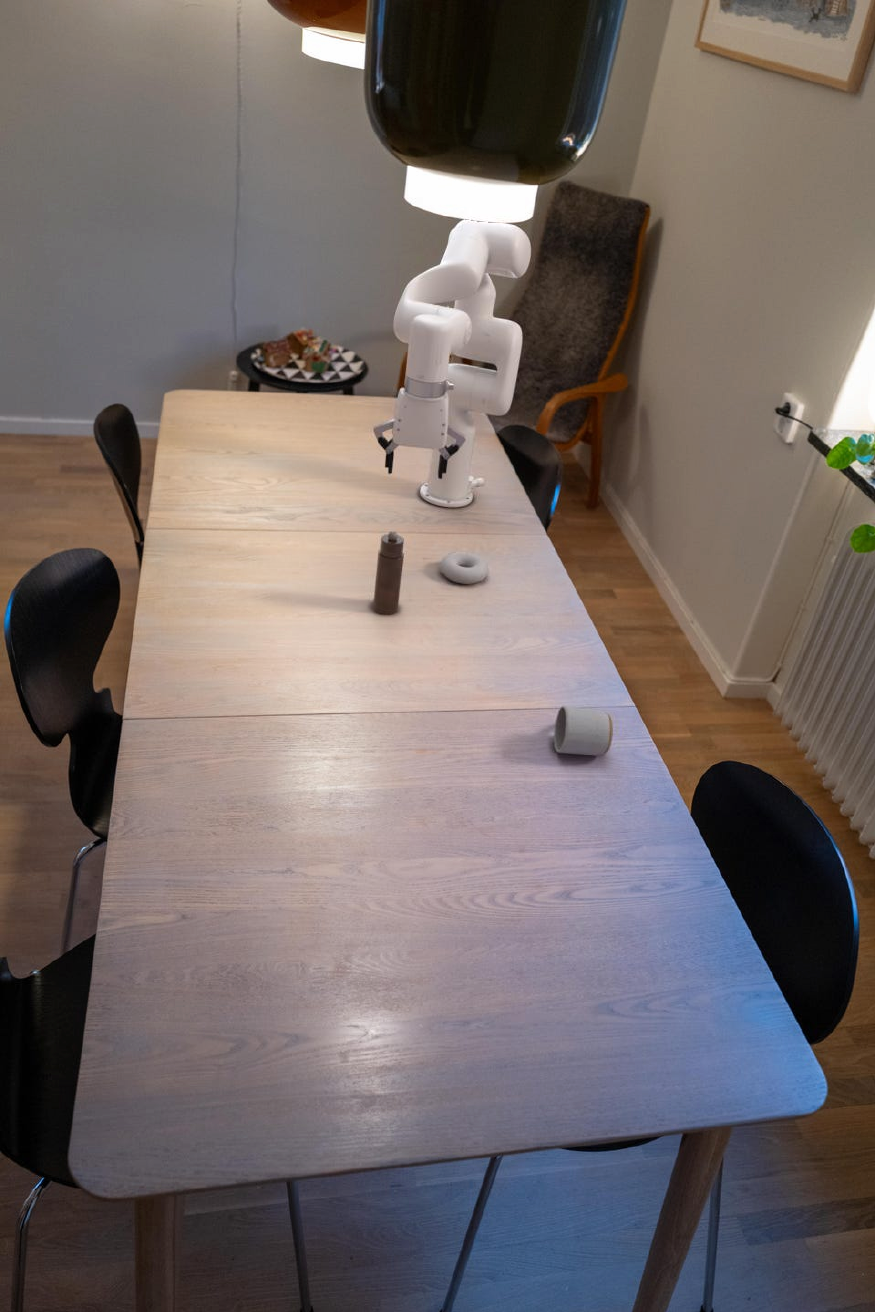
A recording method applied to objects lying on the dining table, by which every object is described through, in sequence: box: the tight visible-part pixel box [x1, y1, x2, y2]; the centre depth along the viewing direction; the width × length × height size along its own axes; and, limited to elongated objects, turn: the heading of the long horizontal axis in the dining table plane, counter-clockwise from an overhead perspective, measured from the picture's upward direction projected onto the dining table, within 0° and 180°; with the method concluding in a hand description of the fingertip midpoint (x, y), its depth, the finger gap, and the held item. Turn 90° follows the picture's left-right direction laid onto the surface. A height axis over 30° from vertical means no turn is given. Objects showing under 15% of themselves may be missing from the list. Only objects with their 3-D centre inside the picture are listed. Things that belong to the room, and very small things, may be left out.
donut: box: [440, 551, 489, 585], centre depth 206 cm, size 10×4×10 cm
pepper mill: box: [372, 530, 405, 615], centre depth 188 cm, size 5×5×16 cm
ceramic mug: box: [553, 705, 614, 757], centre depth 162 cm, size 11×8×8 cm
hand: (414, 473), depth 192 cm, fingers open, 9 cm apart
